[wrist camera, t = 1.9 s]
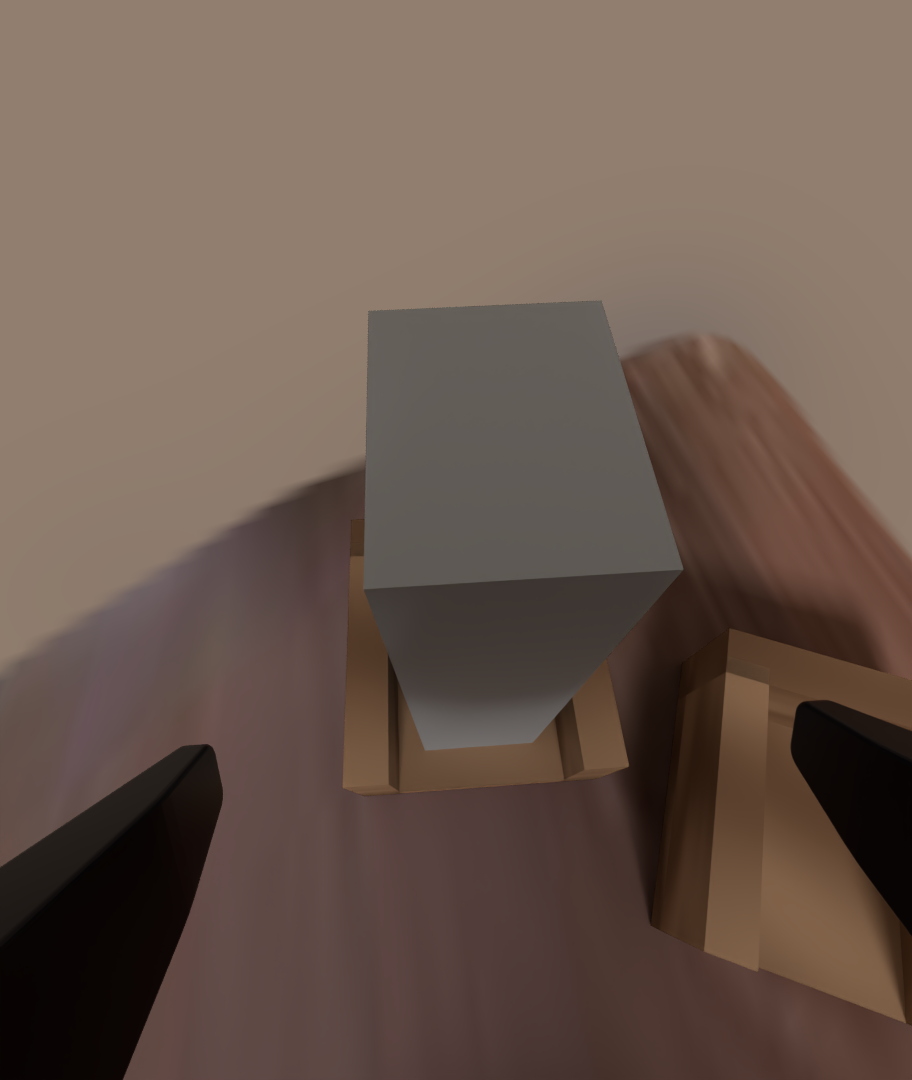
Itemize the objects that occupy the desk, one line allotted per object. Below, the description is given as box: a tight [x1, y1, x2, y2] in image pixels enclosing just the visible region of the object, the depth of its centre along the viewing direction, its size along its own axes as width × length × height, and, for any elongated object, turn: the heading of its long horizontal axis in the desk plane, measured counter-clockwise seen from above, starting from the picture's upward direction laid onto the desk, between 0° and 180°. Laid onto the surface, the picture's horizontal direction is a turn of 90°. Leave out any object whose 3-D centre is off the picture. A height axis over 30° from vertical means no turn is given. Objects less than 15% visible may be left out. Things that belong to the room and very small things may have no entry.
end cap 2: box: [651, 628, 912, 1025], centre depth 15 cm, size 8×8×4 cm
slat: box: [363, 301, 684, 751], centre depth 13 cm, size 4×4×13 cm
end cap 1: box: [343, 519, 629, 796], centre depth 18 cm, size 8×8×4 cm
